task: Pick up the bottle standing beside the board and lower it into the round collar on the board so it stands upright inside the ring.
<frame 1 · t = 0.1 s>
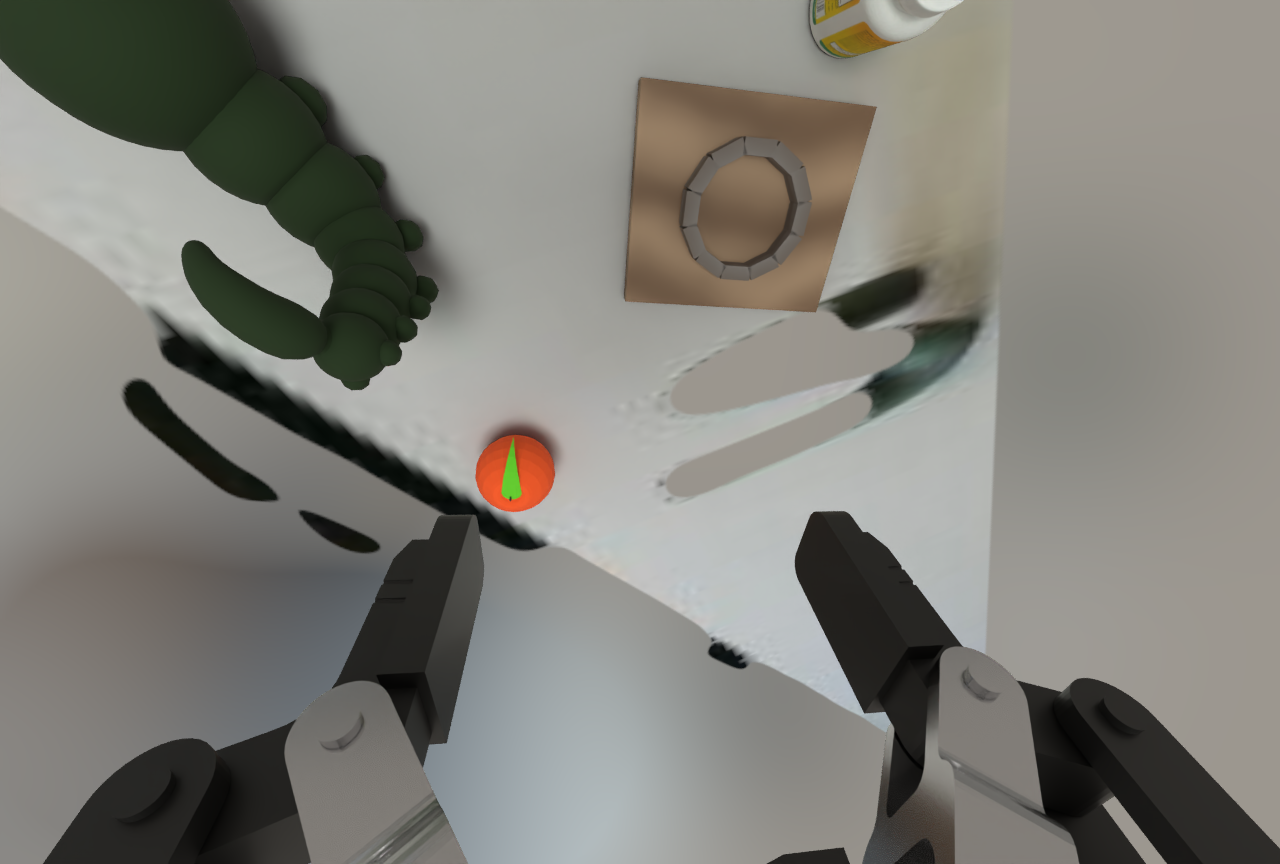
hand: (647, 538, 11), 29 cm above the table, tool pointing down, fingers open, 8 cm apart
collar board: (735, 209, 34), on the table
toy figurine: (299, 140, 29), on the table
clementine: (520, 445, 44), on the table
supplement bottle: (847, 7, 29), on the table
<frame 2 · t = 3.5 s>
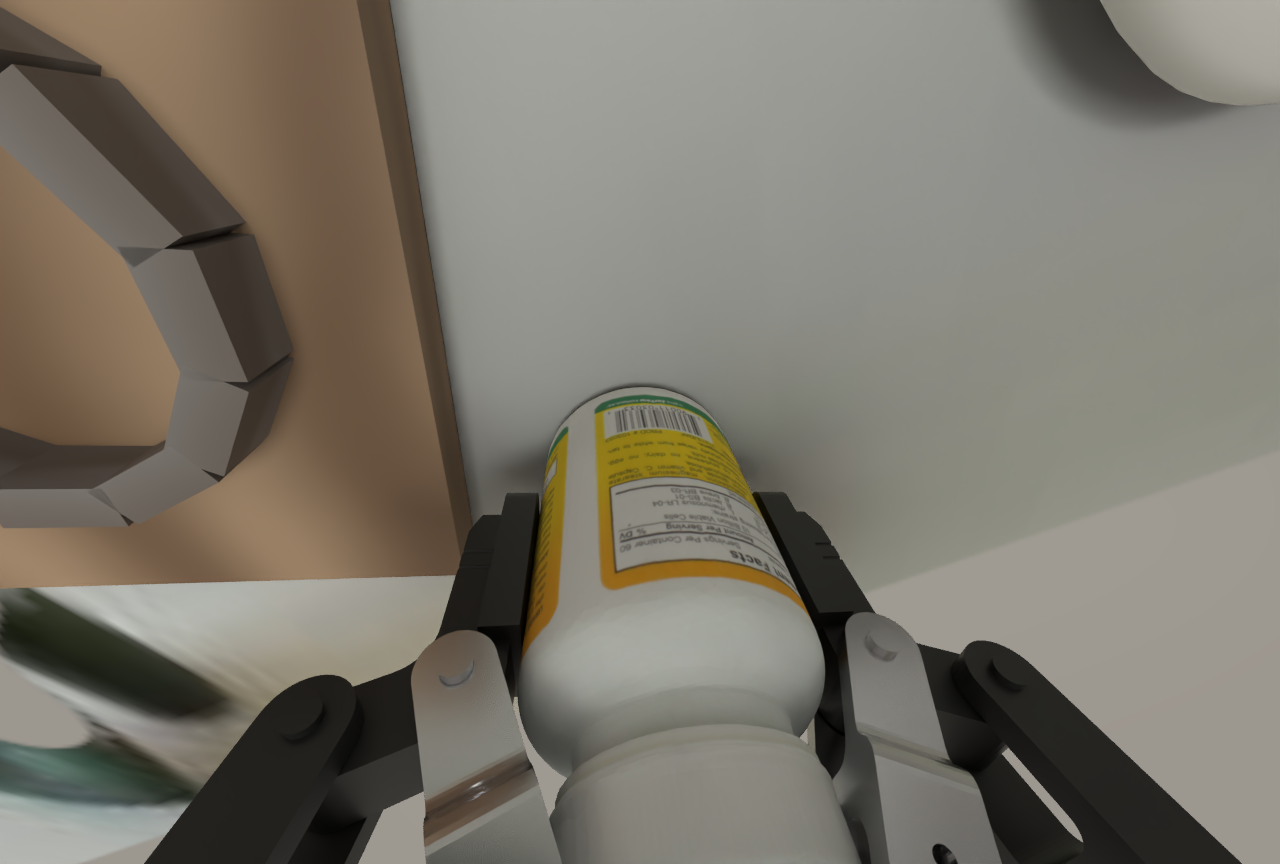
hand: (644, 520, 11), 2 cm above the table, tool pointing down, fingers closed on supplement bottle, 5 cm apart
collar board: (78, 264, 9), on the table
supplement bottle: (635, 458, 14), on the table, touching gripper
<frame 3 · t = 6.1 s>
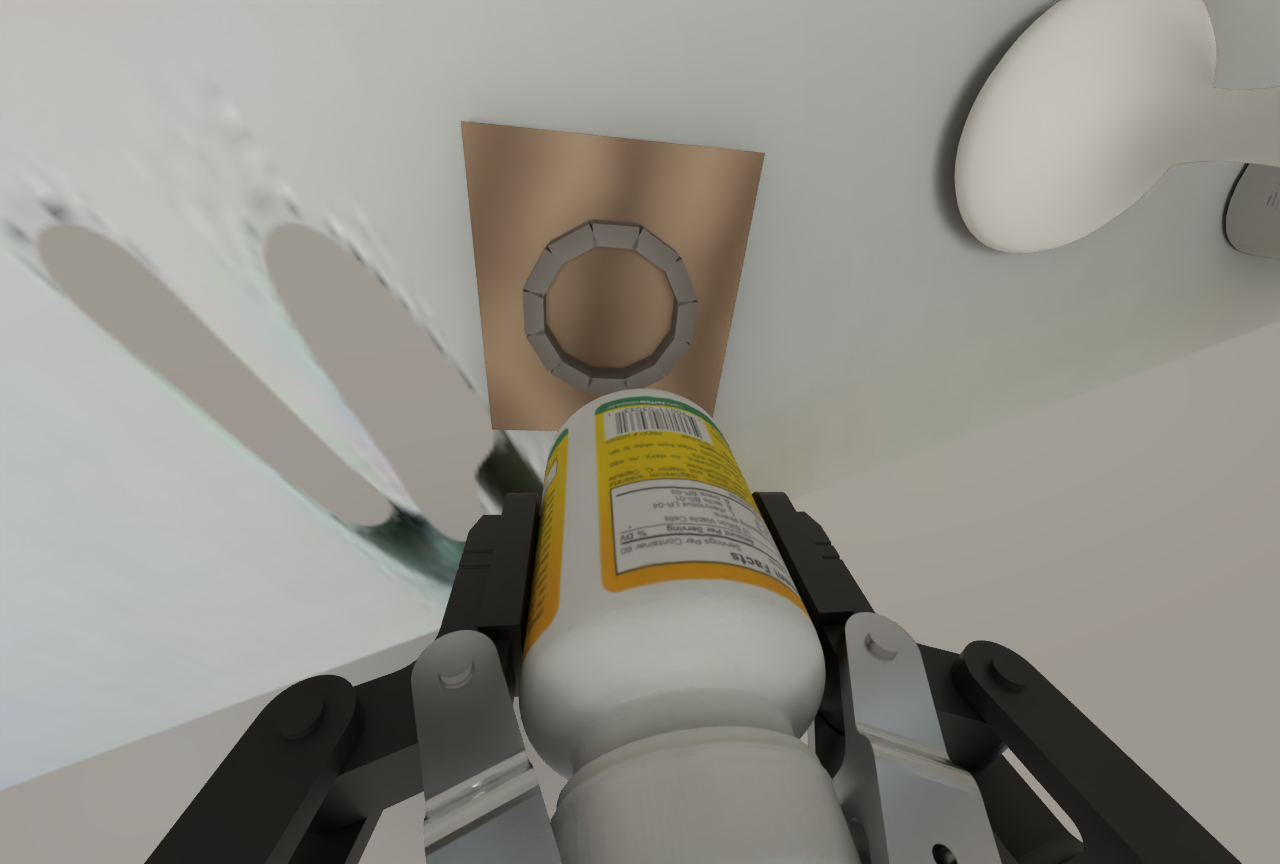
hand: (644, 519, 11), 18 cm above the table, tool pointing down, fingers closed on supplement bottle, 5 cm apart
flower in vase: (1043, 114, 23), on the table
collar board: (609, 301, 26), on the table
supplement bottle: (635, 459, 14), point 15 cm above the table, touching gripper
when the fingers open (6 cm above the table, at t = 8.9 s): supplement bottle drops 2 cm, resting on collar board.
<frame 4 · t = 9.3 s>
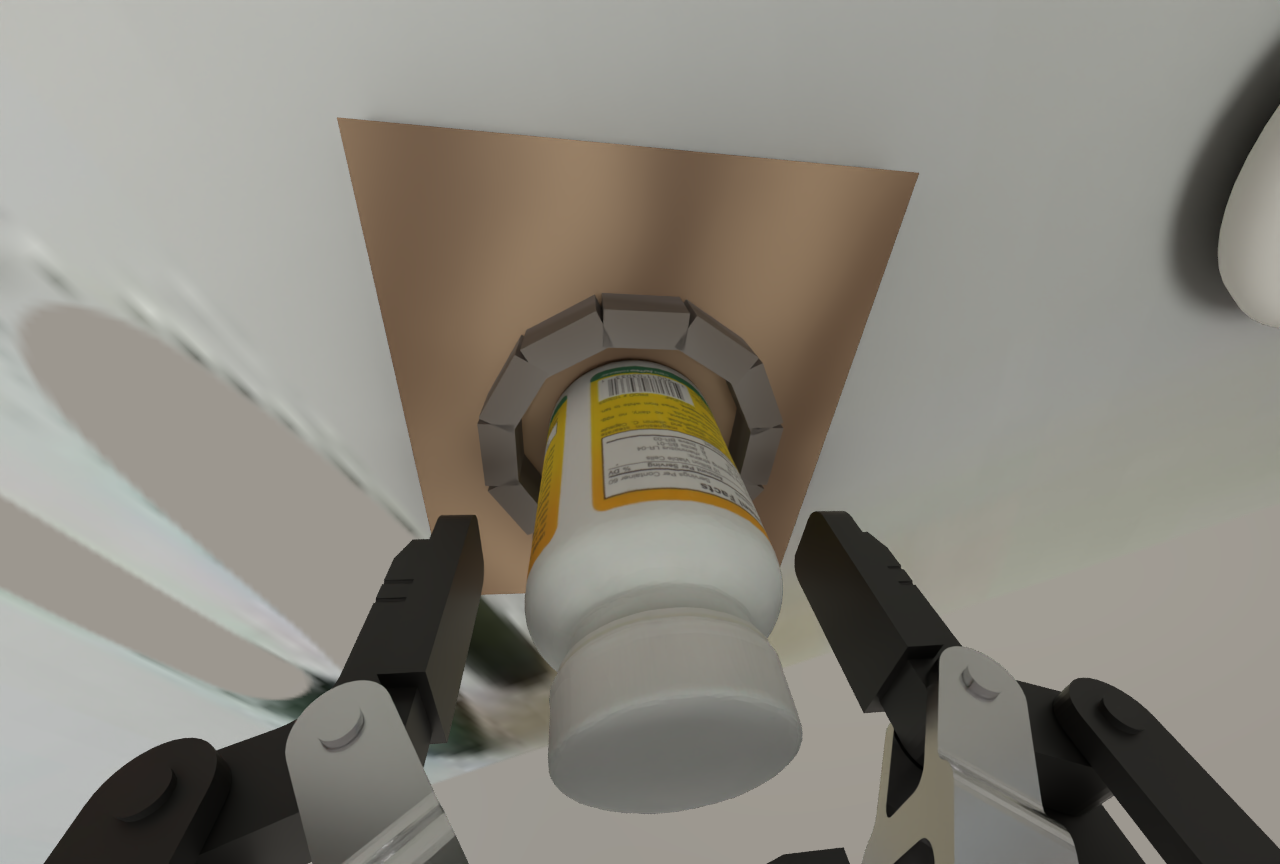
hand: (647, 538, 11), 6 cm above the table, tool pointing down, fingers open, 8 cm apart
collar board: (626, 408, 16), on the table
supplement bottle: (628, 427, 15), point 1 cm above the table, touching collar board
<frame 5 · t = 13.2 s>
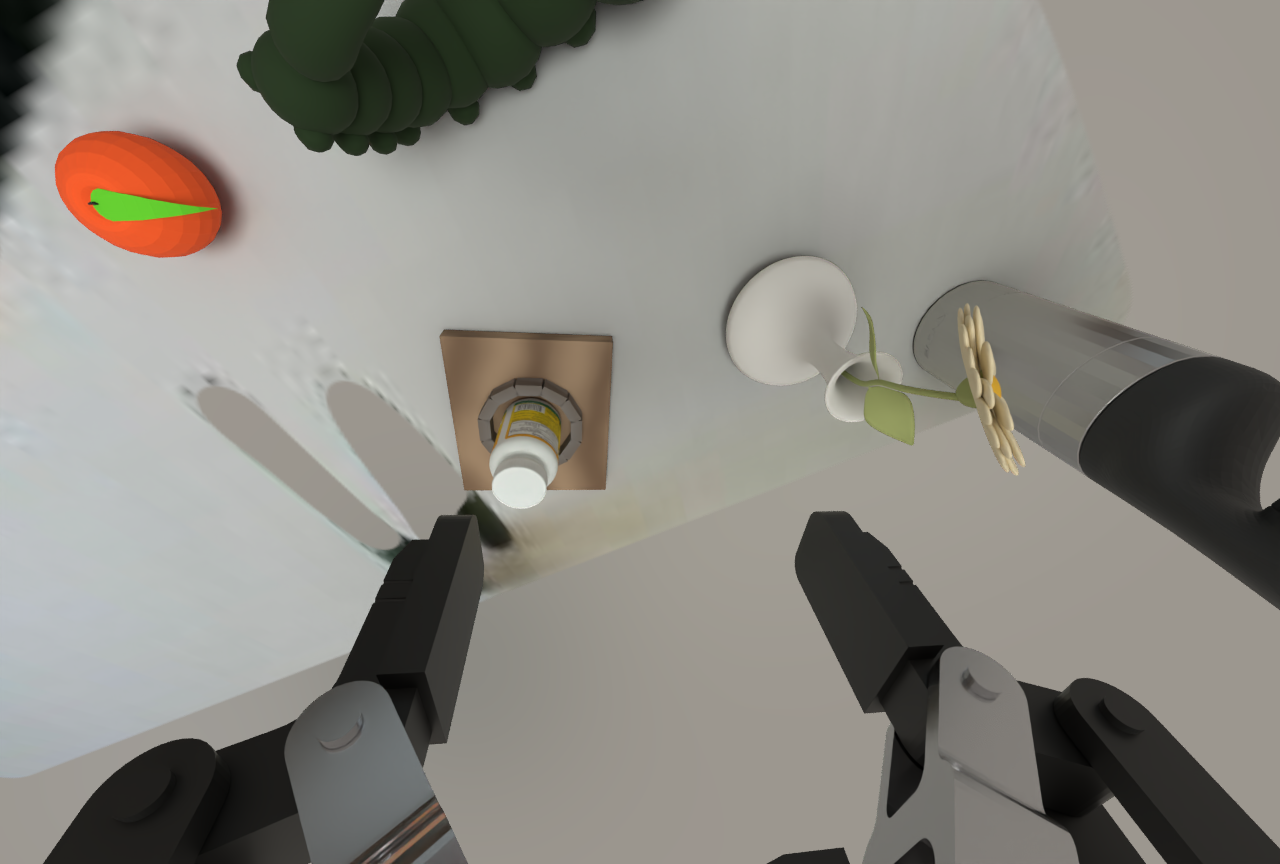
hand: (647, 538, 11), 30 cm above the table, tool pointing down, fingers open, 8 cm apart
flower in vase: (781, 309, 40), on the table
collar board: (534, 414, 43), on the table
clementine: (198, 193, 31), on the table
supplement bottle: (532, 421, 42), point 1 cm above the table, touching collar board
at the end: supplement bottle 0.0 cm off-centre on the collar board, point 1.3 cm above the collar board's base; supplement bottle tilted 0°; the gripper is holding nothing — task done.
